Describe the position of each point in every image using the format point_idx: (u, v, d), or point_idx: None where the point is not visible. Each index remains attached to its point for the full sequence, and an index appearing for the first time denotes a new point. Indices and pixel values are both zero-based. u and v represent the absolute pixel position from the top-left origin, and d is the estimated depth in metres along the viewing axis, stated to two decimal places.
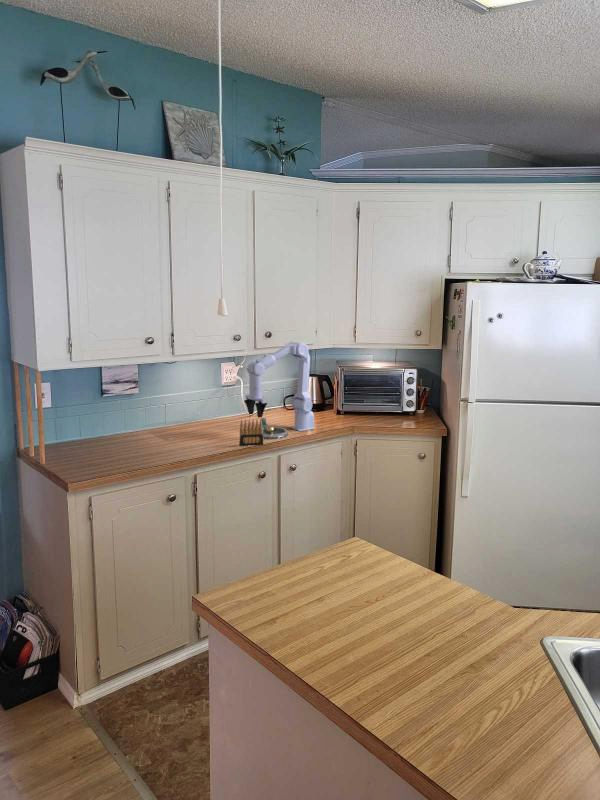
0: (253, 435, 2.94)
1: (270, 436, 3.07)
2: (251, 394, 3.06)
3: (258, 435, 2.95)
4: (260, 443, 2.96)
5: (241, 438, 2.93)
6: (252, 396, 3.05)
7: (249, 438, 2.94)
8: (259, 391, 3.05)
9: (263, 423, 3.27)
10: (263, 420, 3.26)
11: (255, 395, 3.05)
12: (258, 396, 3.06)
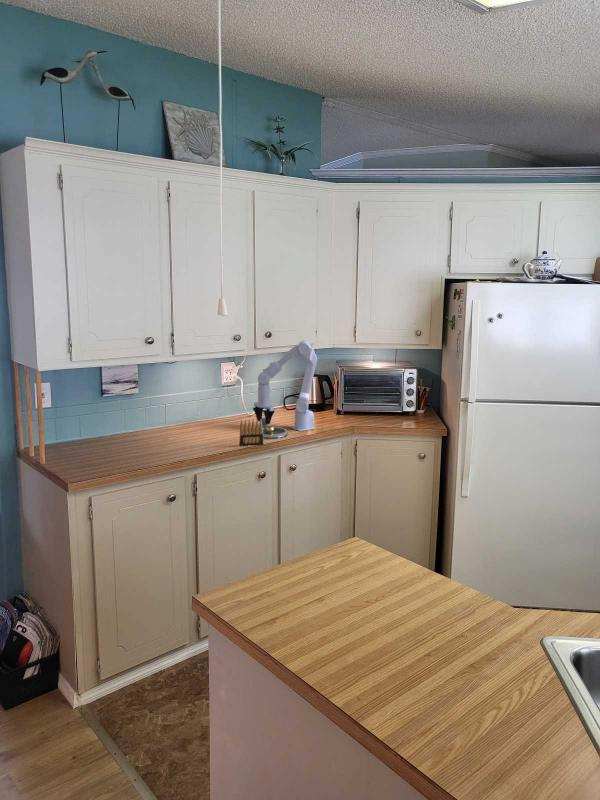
0: (253, 435, 2.94)
1: (270, 436, 3.07)
2: (259, 402, 3.24)
3: (258, 435, 2.95)
4: (260, 443, 2.96)
5: (241, 438, 2.93)
6: (260, 404, 3.23)
7: (249, 438, 2.94)
8: (267, 399, 3.23)
9: (263, 423, 3.27)
10: (263, 420, 3.26)
11: (263, 403, 3.23)
12: (266, 404, 3.24)
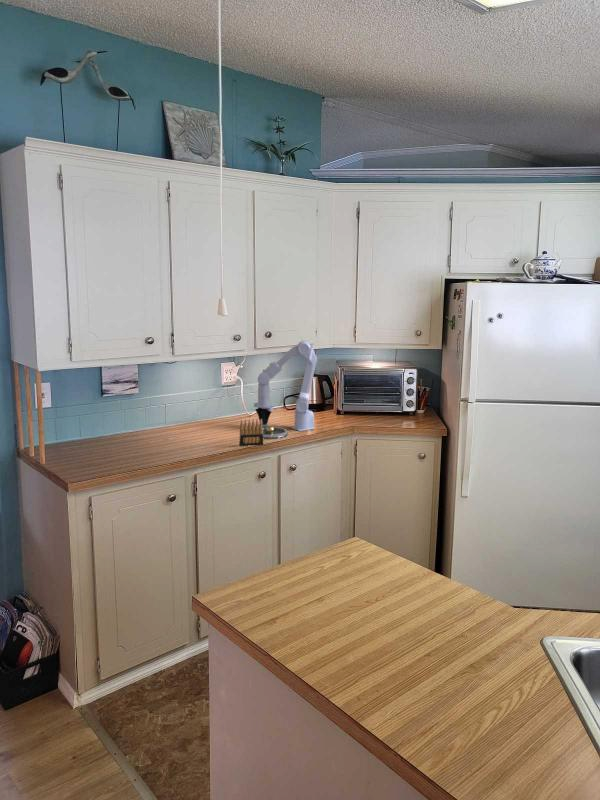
0: (253, 435, 2.94)
1: (270, 436, 3.07)
2: (259, 403, 3.24)
3: (258, 435, 2.95)
4: (260, 443, 2.96)
5: (241, 438, 2.93)
6: (260, 404, 3.23)
7: (249, 438, 2.94)
8: (267, 400, 3.23)
9: None
10: None
11: (263, 404, 3.23)
12: (266, 404, 3.24)
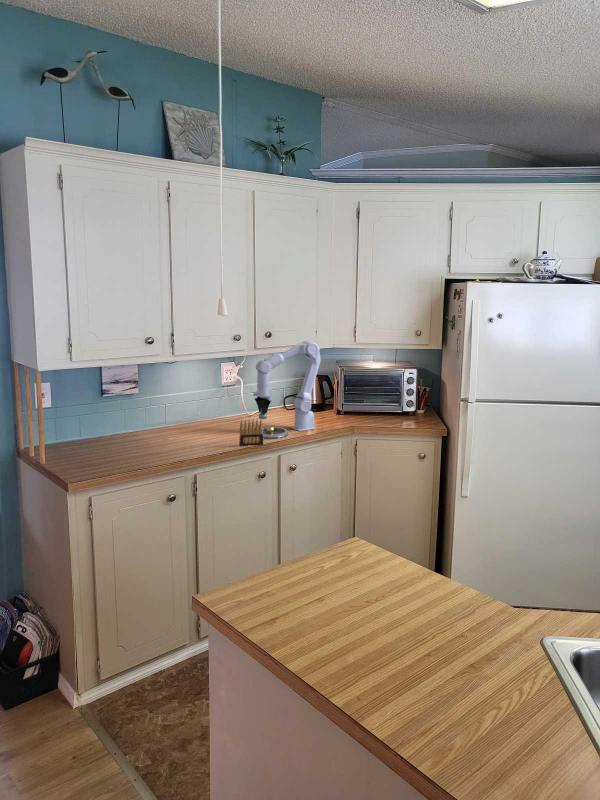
0: (253, 435, 2.94)
1: (270, 436, 3.07)
2: (259, 392, 3.14)
3: (258, 435, 2.95)
4: (260, 443, 2.96)
5: (241, 438, 2.93)
6: (260, 393, 3.14)
7: (249, 438, 2.94)
8: (266, 388, 3.14)
9: (262, 413, 3.17)
10: None
11: (263, 393, 3.14)
12: (265, 394, 3.14)
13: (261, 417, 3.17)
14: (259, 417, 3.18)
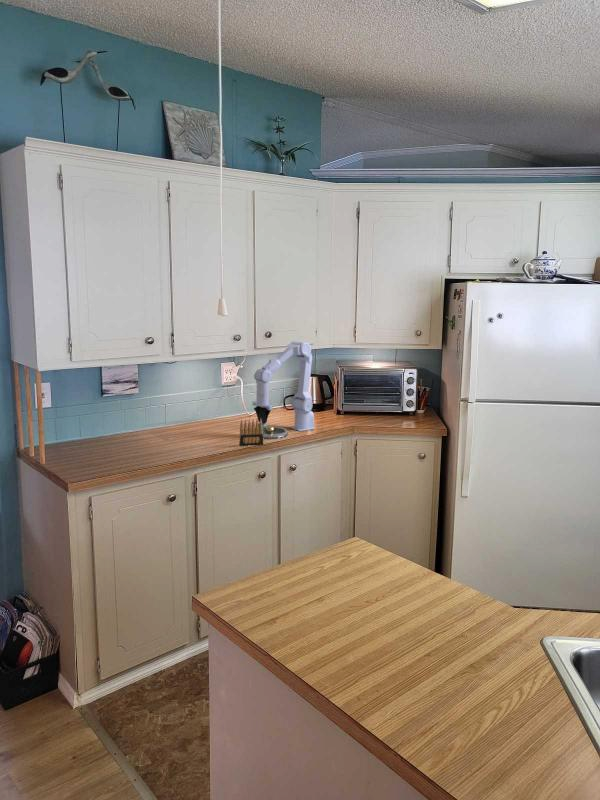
0: (253, 435, 2.94)
1: (270, 436, 3.07)
2: (258, 401, 3.07)
3: (258, 435, 2.95)
4: (260, 443, 2.96)
5: (241, 438, 2.93)
6: (259, 403, 3.07)
7: (249, 438, 2.94)
8: (266, 398, 3.07)
9: None
10: None
11: (262, 402, 3.06)
12: (265, 403, 3.07)
13: None
14: None
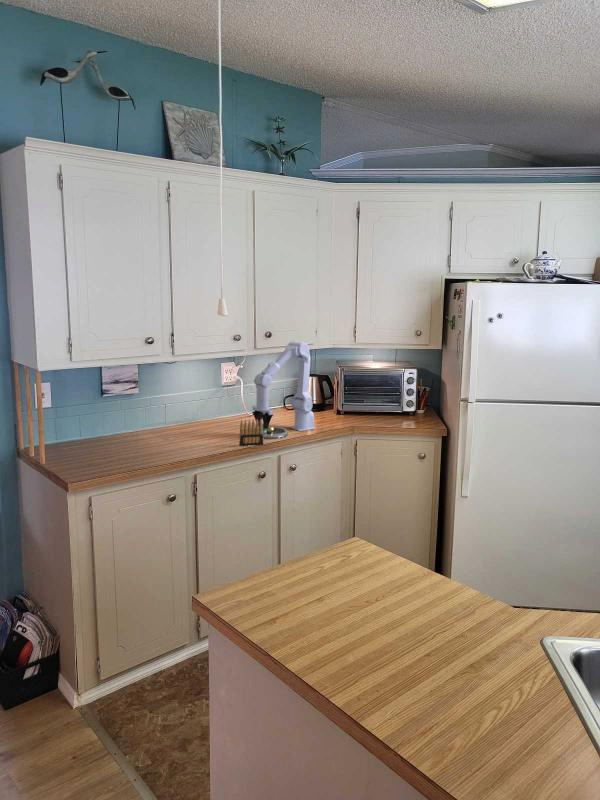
0: (253, 435, 2.94)
1: (270, 436, 3.07)
2: (258, 406, 3.07)
3: (258, 435, 2.95)
4: (260, 443, 2.96)
5: (241, 438, 2.93)
6: (259, 408, 3.07)
7: (249, 438, 2.94)
8: (266, 402, 3.07)
9: None
10: (262, 426, 3.10)
11: (262, 407, 3.07)
12: (265, 408, 3.07)
13: None
14: None
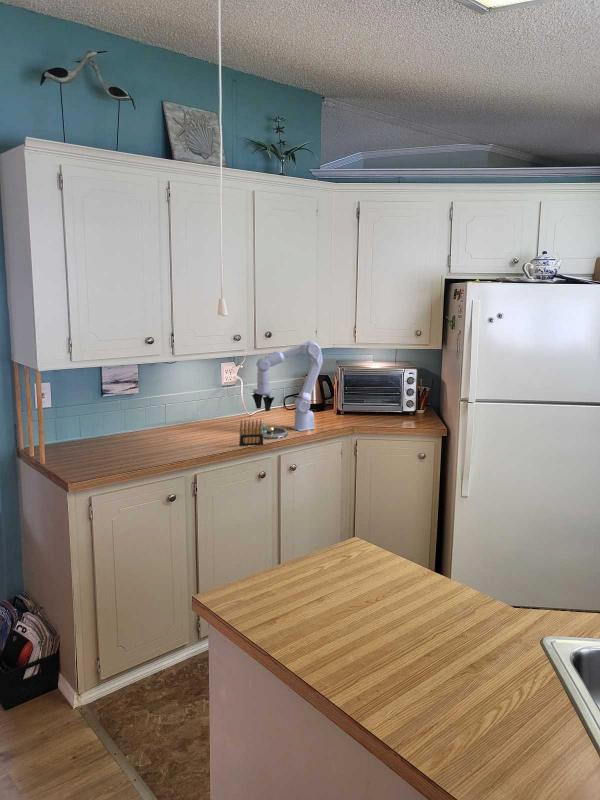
0: (253, 435, 2.94)
1: (270, 436, 3.07)
2: (259, 389, 3.18)
3: (258, 435, 2.95)
4: (260, 443, 2.96)
5: (241, 438, 2.93)
6: (260, 391, 3.18)
7: (249, 438, 2.94)
8: (266, 386, 3.18)
9: None
10: (262, 426, 3.10)
11: (263, 390, 3.18)
12: (266, 391, 3.18)
13: None
14: None
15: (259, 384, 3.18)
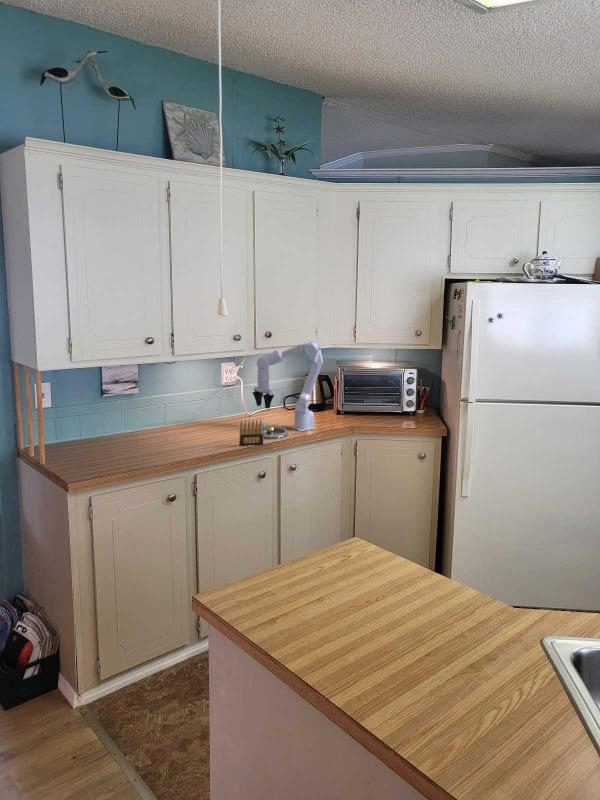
0: (253, 435, 2.94)
1: (270, 436, 3.07)
2: (259, 386, 3.24)
3: (258, 435, 2.95)
4: (260, 443, 2.96)
5: (241, 438, 2.93)
6: (260, 388, 3.24)
7: (249, 438, 2.94)
8: (266, 383, 3.24)
9: None
10: (262, 426, 3.10)
11: (263, 387, 3.24)
12: (266, 388, 3.24)
13: None
14: None
15: (259, 382, 3.24)
